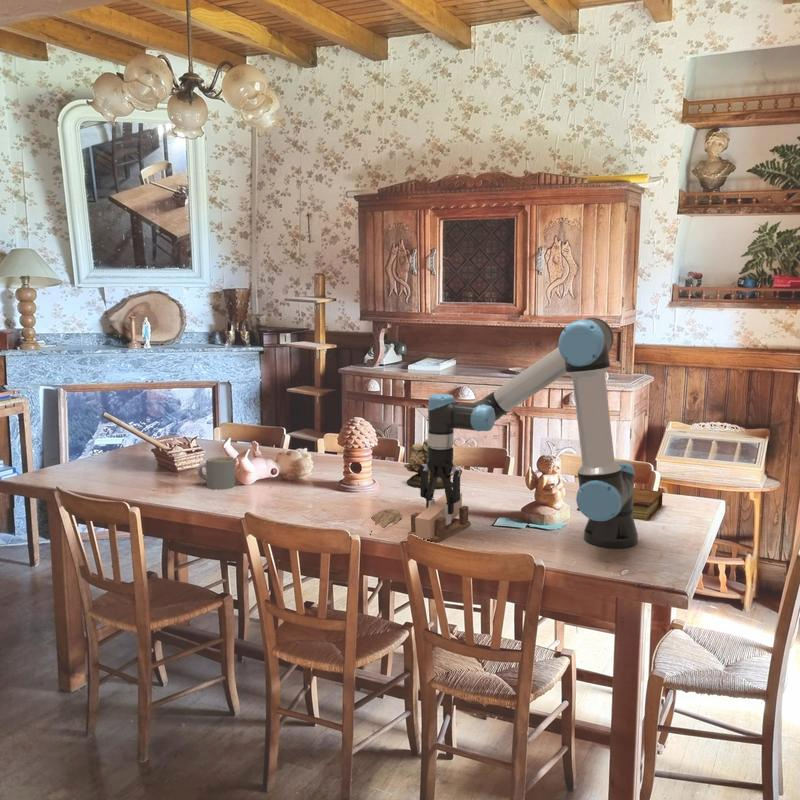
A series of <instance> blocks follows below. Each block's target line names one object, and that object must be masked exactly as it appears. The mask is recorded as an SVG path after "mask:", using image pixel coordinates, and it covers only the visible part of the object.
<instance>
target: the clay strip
mask: <svg viewBox="0 0 800 800" xmlns="http://www.w3.org/2000/svg"><path fill="white" fill-rule="evenodd" d="M446 503H447V499H446V494H445V493H444V494H443V495H441V496H440V497H439V498H438V499H437V500H435V502H434V503H433V504H432V505H430V506H429V507H428V508H427V509H426V508H425V509H424V510H422V512H419V513H420V514H419V515H418V516H417V517H415V527H416V536H418V537H420V538H424V539H431V538H432V537H433V536H435V535H436V519H438V518H440V517H443V518H445V504H446ZM462 506H463V492H460V501H458V502H456V503H454V512H453V514H451V520H453V519H454V518H457V516H459V508H460V507H462Z"/></svg>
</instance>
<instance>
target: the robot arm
mask: <svg viewBox="0 0 800 800" xmlns="http://www.w3.org/2000/svg"><path fill="white" fill-rule="evenodd" d="M614 339H615V338H614V331H613V329H612V328H611V326H610V325H609V324H608V323H607V322H606V321H605V320H604V319H600V318H597V317H587V318H585V319H579V320H575V321H573V322H571V323H569V324H568V325H567V326H566V327H564V329H563V330H562V332H561V334H560V336H559V338H558V344H557V345H558V347H556V348H554V349H553V350H552V351H549V353H547V354H546V355H544V356H543V357H542V358H540V359H539V360H537V361H536V362H534V363H533V364H532V365H530V366H529V367H527V368H526V369H524V370H523V371H522V372H519V374H517V375H515V376H514V377H512V378H511V379H510V380H508V381H507V382H506V383H505V382H504V384H502V385H501V386H499V387H498V388H497V389H495V390H494V391H493V392H491V393H490V394H487V395H486V396H485V397H483V398H481V399H480V400H477V401H475V402H472V403H460V402H455V396H454V395H452V394H448V393H436V394H435V393H434V394H432V395H430V396H429V398H428V405H427V406H428V408H427V412H428V414H427V416H428V417H427V418H428V420H427V421H428V422H427V423H428V425H427V426H428V428H427V429H428V431H427V439H428V445H429V446H430V447H429V448H428V463H427V464H422V465H420V466H419V469H420V472H421V486H420V488H419V489H420V490H419V491H420V494H419V495H420V497H421V498H424V499H425V506H426V507H425V509H427V508H428V507H429V506H430V505H432V504H433V503H434V502H435V501H436V499H434V498H435V496H434V494H435V491H436V489H435V487H436V483H437V479H438V477H439V478H441V479H442V482H443V485H444V489H443V490H444V494H446V499H447V503H446V504H445V518H446V526H447V525H449V524H451V514H453V512H454V503H456V502H458V501H460V493H461V475H462V474H463V473H462V472H463V470H462V469H461V468H459V469H458V468H457V467H455V466H454V463H453V460H454V447H453V446H454V433H455V432H454V429H457V430H459V429H460V430H466V431H467V430H469V431H475V432H476V431H477V432H490V431H491V430H492V429H493V427H494V425H495V422H496V421H498V420H499V419H501V418H502V417H503V416H504V415H507V413H509V412H510V411H512V410H513V409H514V408H516V407H518V406H519V405H521V404H522V403H524V402H526V400H528V399H530V398H531V397H533V396H534V395H536V394H537V393H539V392H540V391H542V390H543V389H545V388H547V387H548V386H549V385H551V384H552V383H554V382H556V381H557V380H559V379H560V378H561V377H563V376H564V375H566V374H568V376H570V377H571V378H572V386H573V395H574V402H575V412H576V420H577V428H578V438H579V446H580V455H581V463H582V465H581V466H580V467H578V469H577V477H578V490H577V493H576V497H575V499H576V500H575V501H576V504H577V505H576V506H577V508H579V510H580V511H579V512H581V514H583V516H585V517H586V518H587V519H588V520H587V522H586V525H585V527H584V531H583V539H584V540H585V541H586V542H587V543H589V544H590V545H594V546H597V547H603V548H612V549H623V548H624V549H625V548H630V547H633V546H636V545H637V544H638V541H639V540H638V539H639V533H638V531H637V527H636V523H635V519H633V515H632V513H633V492H634V488H635V476H636V473H635V467H634V466H633V464H631V463H629V462H622V461H615V453H614V445H613V435H612V433H613V432H612V425H611V417H610V407H609V400H608V399H609V398H608V391H607V389H608V387H607V381H606V374H607V372H608V371H609V370H610V368H611V362H610V355H609V353H610V352H611V349H612V347H613V345H614V341H615V340H614ZM428 469H429V470H430V472H431V474H430V481H429V486H428ZM451 472H452V476H450V473H451ZM451 482H452V483H453V486H452V485H451Z"/></svg>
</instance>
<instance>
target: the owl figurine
mask: <svg viewBox="0 0 800 800" xmlns="http://www.w3.org/2000/svg"><path fill="white" fill-rule="evenodd" d="M429 447H430V446H429V445H428V438H426V439H424V441H423V442H422V444H420V443H415V444H412V446H411V453H410V456H409V459H408V460H409V463H404V466H403V467H404V468H406V469H407V471H408V472H412V473H413V472H414V473H416V474H414V475H412V476H411V477H409V479H407V481H406V483H407V485H408V486H409V487H412V488H417V487H418V488H419V489H420V486H421V472H420V469H419V466H420V465H422V464H427V463H428V448H429ZM430 474H431V472H430V470H429V469H428V486H429V481H430ZM452 474H453V472H451V473H450V476H451V477H453V475H452ZM451 485H452V487H453V481H451ZM435 490H445V489H444V485H443V482H442V479H441V478H439V477H438V479H437V483H436V487H435Z"/></svg>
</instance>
